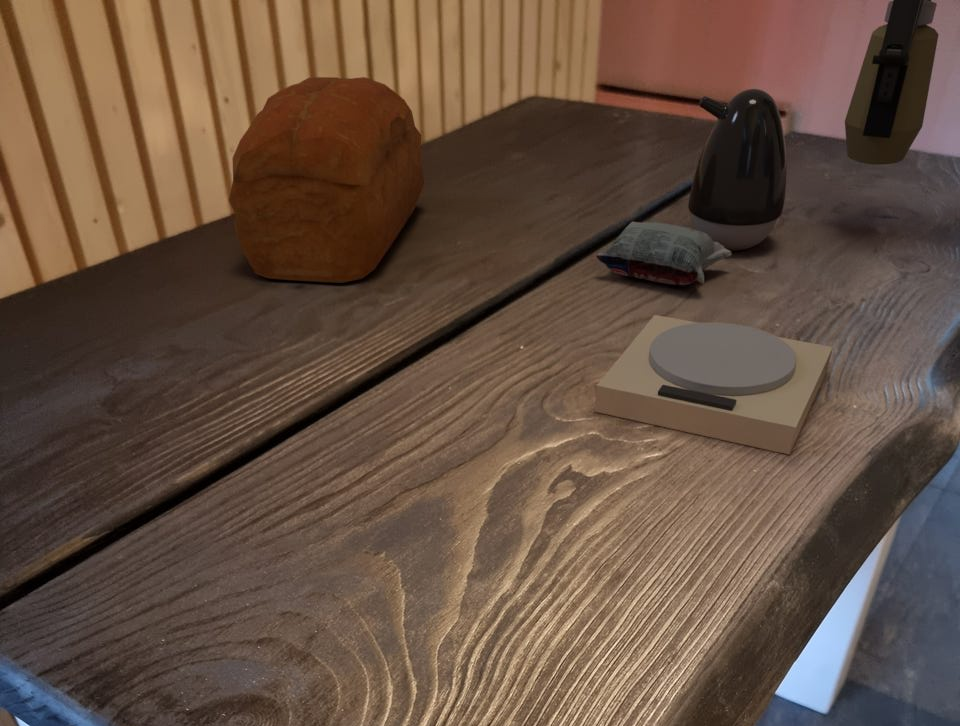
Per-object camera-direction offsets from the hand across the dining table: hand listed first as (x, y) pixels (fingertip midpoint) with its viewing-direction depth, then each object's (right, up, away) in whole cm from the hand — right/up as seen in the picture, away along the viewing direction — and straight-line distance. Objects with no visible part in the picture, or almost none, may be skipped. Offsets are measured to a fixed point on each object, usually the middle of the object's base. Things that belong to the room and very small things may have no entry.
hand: (882, 125), depth 100 cm
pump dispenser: (-16, -11, +4) cm, 20 cm away
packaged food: (-24, -17, -2) cm, 30 cm away
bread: (-60, -10, +7) cm, 61 cm away
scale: (-24, -35, -21) cm, 47 cm away
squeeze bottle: (0, -3, +2) cm, 3 cm away
